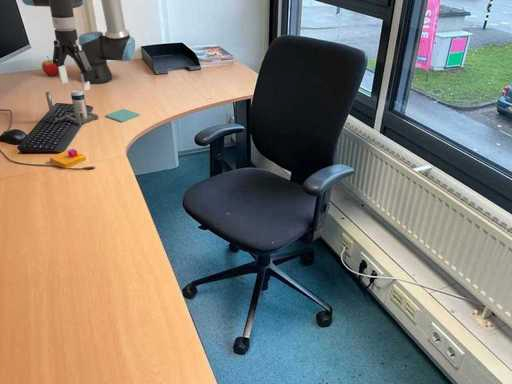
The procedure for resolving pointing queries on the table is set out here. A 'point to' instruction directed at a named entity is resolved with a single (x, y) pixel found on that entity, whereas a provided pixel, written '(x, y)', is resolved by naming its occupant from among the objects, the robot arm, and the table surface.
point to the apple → (50, 68)
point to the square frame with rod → (51, 109)
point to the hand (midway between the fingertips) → (75, 86)
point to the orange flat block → (67, 158)
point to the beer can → (79, 104)
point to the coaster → (122, 115)
